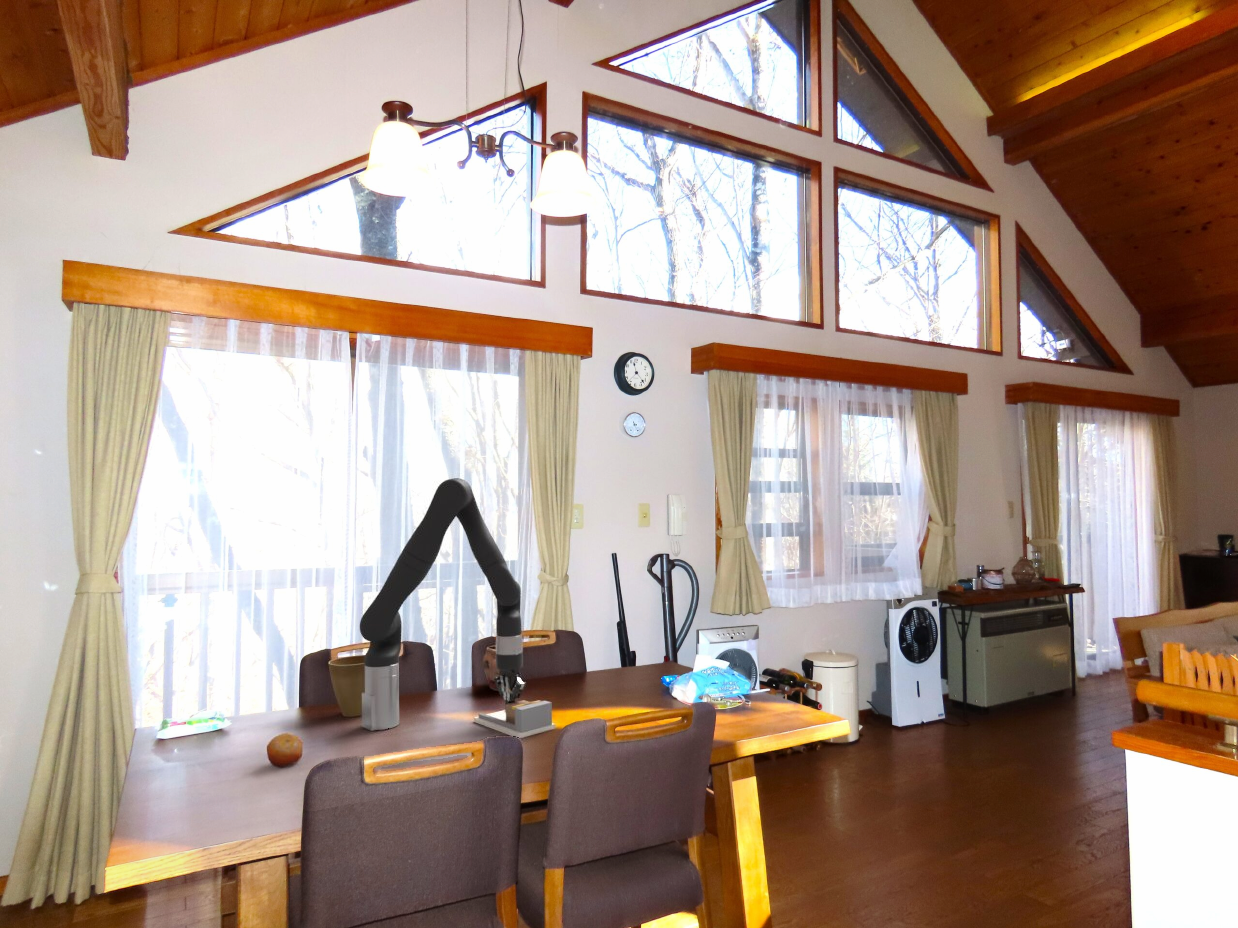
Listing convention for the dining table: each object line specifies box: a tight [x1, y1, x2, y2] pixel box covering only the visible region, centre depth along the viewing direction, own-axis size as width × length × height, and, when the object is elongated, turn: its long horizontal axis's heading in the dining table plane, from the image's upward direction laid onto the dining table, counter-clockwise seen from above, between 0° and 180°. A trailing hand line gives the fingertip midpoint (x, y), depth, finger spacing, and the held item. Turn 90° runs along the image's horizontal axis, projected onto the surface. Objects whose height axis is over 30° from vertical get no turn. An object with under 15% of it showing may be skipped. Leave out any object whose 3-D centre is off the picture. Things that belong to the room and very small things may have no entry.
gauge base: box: [473, 700, 556, 739], centre depth 212 cm, size 12×22×7 cm, turn 42°
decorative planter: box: [482, 645, 499, 692], centre depth 256 cm, size 20×12×14 cm, turn 36°
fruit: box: [266, 733, 304, 769], centre depth 184 cm, size 8×8×8 cm
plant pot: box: [328, 654, 366, 718], centre depth 228 cm, size 15×15×16 cm
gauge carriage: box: [506, 699, 542, 725], centre depth 209 cm, size 9×6×6 cm, turn 132°
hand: (510, 713), depth 213 cm, fingers closed
